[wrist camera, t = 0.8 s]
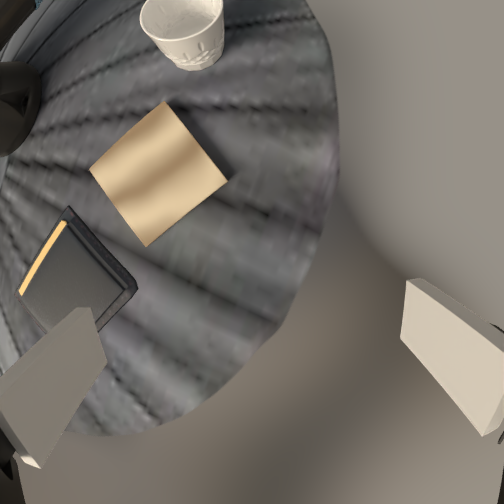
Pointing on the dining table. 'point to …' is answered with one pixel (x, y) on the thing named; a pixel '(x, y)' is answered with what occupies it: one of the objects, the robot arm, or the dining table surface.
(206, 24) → the white cup
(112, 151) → the oak coaster board
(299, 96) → the dining table surface
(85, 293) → the black book
